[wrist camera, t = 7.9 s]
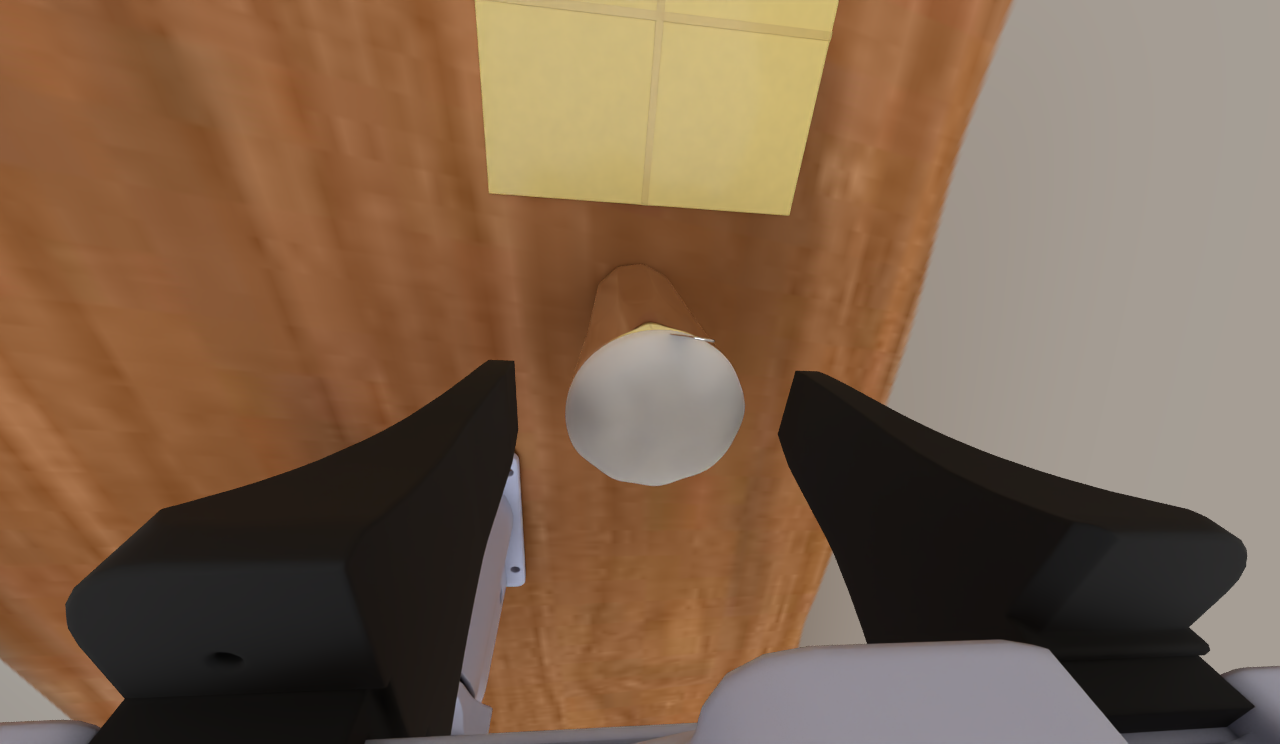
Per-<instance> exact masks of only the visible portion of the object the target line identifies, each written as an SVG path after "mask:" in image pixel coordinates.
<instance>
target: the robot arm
mask: <svg viewBox="0 0 1280 744" xmlns="http://www.w3.org/2000/svg"><path fill="white" fill-rule="evenodd" d="M517 433H518V417H517V400H516V382H515V364H514V361H503V360H488V361H487V362H485V363H484V364H482V365H481V366H480V367H478V368H477V369H476V370H474V371H473V372H472V373H470V374H469V375H468V376H466V377H465V378H464V379H463V380H461V381H460V382H459V383H457V384H456V385H454V386H453V387H452V388H450V389H449V390H448V391H446V392H445V393H444V394H442V395H441V396H439V397H438V398H436V399H435V400H433V401H432V402H430V403H429V404H427V405H426V406H424V407H423V408H421V409H419V410H418V411H416V412H415V413H413V414H412V415H410V416H409V417H407V418H405V419H404V420H402V421H400V422H398V423H397V424H395V425H393V426H391V427H389V428H387V429H385V430H384V431H382V432H380V433H378V434H376V435H374V436H372V437H370V438H368V439H366V440H364V441H362V442H360V443H357V444H355V445H353V446H350V447H348V448H346V449H343V450H341V451H339V452H337V453H334V454H332V455H330V456H327V457H325V458H323V459H321V460H318V461H315V462H313V463H310V464H308V465H305V466H302V467H300V468H297V469H294V470H291V471H289V472H286V473H283V474H280V475H277V476H274V477H271V478H268V479H265V480H262V481H259V482H256V483H253V484H250V485H247V486H243V487H240V488H237V489H233V490H229V491H226V492H222V493H219V494H215V495H212V496H208V497H205V498H201V499H197V500H194V501H190V502H187V503H183V504H180V505H176V506H172V507H168V508H164V509H161V510H160V511H159V512H158V513H157V514H155V515H154V516H153V517H152V518H151V519H150V520H149V521H148V522H147V523H146V524H144V525H143V526H142V527H141V528H140V529H139V530H138V531H137V532H136V533H134V534H133V535H132V536H131V537H130V538H129V539H128V540H127V541H126V542H124V543H123V544H122V545H121V546H120V547H119V548H118V549H117V550H116V551H114V552H113V553H112V554H111V555H110V556H109V557H108V558H107V559H106V560H104V561H103V562H102V563H101V564H100V565H99V566H98V567H97V568H96V569H94V570H93V571H92V572H91V573H90V574H89V575H88V576H87V577H86V578H84V579H83V580H82V581H81V582H80V583H79V584H78V585H77V586H76V587H74V589H73V591H72V593H71V595H70V596H69V598H68V600H67V602H66V604H65V606H66V618H67V625H68V629H69V631H70V632H71V634H72V636H73V637H74V639H75V641H76V642H77V644H78V645H79V647H80V648H81V649H82V650H83V651H84V652H85V653H86V655H87V656H88V657H89V658H90V659H91V660H92V662H93V663H94V664H95V665H96V666H97V667H98V668H99V670H100V671H101V672H102V673H103V674H104V675H105V676H106V678H107V679H108V680H109V681H110V682H111V683H112V685H113V686H114V687H115V688H116V689H117V690H118V691H119V693H120V694H121V695H122V696H123V697H124V698H125V699H124V701H123V702H122V703H121V704H120V706H119V707H118V708H117V709H116V710H115V712H114V713H113V714H112V715H111V717H110V718H109V719H108V720H107V722H106V723H105V724H104V725H103V726H102V728H100V727H98V726H96V725H93V724H89V723H86V722H82V721H73V720H49V721H25V722H3V723H0V744H1280V666H1270V667H1247V668H1239V669H1235V670H1231V671H1229V672H1226V673H1223V674H1221V675H1220V674H1218V673H1217V672H1216V671H1215V670H1214V669H1213V668H1212V667H1211V666H1210V665H1208V664H1207V663H1206V662H1205V661H1204V660H1203V659H1202V658H1201V657H1199V655H1205V654H1207V653H1208V652H1209V651H1210V648H1209V645H1208V644H1207V643H1206V642H1205V641H1204V640H1203V639H1202V638H1201V637H1199V636H1198V635H1197V634H1196V633H1195V632H1194V631H1192V630H1191V629H1190V628H1189V626H1191V625H1192V624H1193V623H1194V622H1195V621H1196V620H1197V619H1198V618H1199V617H1201V616H1202V614H1204V613H1205V612H1206V611H1207V610H1208V609H1209V608H1210V607H1211V606H1212V605H1214V604H1215V603H1216V602H1217V601H1218V600H1219V599H1220V598H1221V597H1222V596H1223V595H1224V594H1226V593H1227V592H1228V591H1229V590H1230V588H1231V587H1232V586H1233V585H1234V584H1235V583H1236V582H1237V581H1238V580H1239V578H1240V576H1241V575H1242V573H1243V571H1244V569H1245V567H1246V560H1247V550H1246V548H1245V546H1244V544H1243V543H1242V541H1241V540H1240V539H1239V538H1237V537H1236V536H1234V535H1233V534H1231V533H1229V532H1228V531H1227V530H1225V529H1224V528H1222V527H1221V526H1219V525H1218V524H1216V523H1215V522H1213V521H1212V520H1210V519H1208V518H1207V517H1205V516H1203V515H1201V514H1198V513H1196V512H1194V511H1191V510H1189V509H1185V508H1180V507H1176V506H1172V505H1167V504H1163V503H1159V502H1154V501H1150V500H1146V499H1141V498H1137V497H1133V496H1129V495H1124V494H1119V493H1115V492H1111V491H1108V490H1104V489H1100V488H1096V487H1093V486H1089V485H1086V484H1082V483H1079V482H1075V481H1071V480H1068V479H1064V478H1061V477H1057V476H1054V475H1051V474H1048V473H1045V472H1041V471H1038V470H1035V469H1032V468H1029V467H1026V466H1023V465H1021V464H1018V463H1015V462H1012V461H1009V460H1006V459H1003V458H1000V457H997V456H995V455H992V454H990V453H987V452H984V451H981V450H979V449H976V448H974V447H972V446H969V445H967V444H964V443H962V442H960V441H957V440H955V439H953V438H950V437H948V436H945V435H943V434H941V433H939V432H937V431H934V430H932V429H930V428H928V427H926V426H924V425H922V424H920V423H918V422H916V421H914V420H912V419H910V418H908V417H906V416H903V415H902V414H900V413H898V412H896V411H894V410H892V409H890V408H889V407H887V406H885V405H883V404H881V403H879V402H877V401H876V400H874V399H872V398H870V397H868V396H866V395H865V394H863V393H861V392H859V391H857V390H855V389H854V388H852V387H850V386H848V385H846V384H844V383H842V382H840V381H838V380H836V379H834V378H832V377H830V376H828V375H826V374H823V373H821V372H817V371H795V375H794V379H793V382H792V386H791V389H790V393H789V396H788V400H787V403H786V407H785V411H784V414H783V418H782V421H781V425H780V428H779V432H778V436H779V439H780V443H781V446H782V449H783V452H784V455H785V457H786V460H787V463H788V466H789V468H790V470H791V472H792V474H793V476H794V478H795V480H796V482H797V483H798V485H799V487H800V489H801V491H802V493H803V495H804V497H805V499H806V501H807V502H808V504H809V506H810V508H811V510H812V512H813V514H814V516H815V518H816V519H817V521H818V523H819V525H820V527H821V529H822V531H823V533H824V534H825V536H826V538H827V541H828V543H829V545H830V547H831V549H832V551H833V553H834V555H835V558H836V560H837V563H838V566H839V568H840V571H841V573H842V576H843V578H844V581H845V583H846V586H847V588H848V591H849V594H850V596H851V599H852V602H853V604H854V607H855V610H856V613H857V616H858V619H859V621H860V624H861V627H862V630H863V633H864V636H865V638H866V642H867V644H856V645H855V644H853V645H824V646H806V647H800V648H795V649H789V650H784V651H778V652H773V653H768V654H763V655H761V656H759V657H757V658H755V659H753V660H751V661H750V662H748V663H746V664H744V665H742V666H740V667H738V668H736V669H734V670H732V671H730V672H728V673H727V674H726V675H725V676H724V678H723V679H722V680H721V682H720V683H719V684H718V685H717V687H716V688H715V689H714V691H713V692H712V693H711V695H710V696H709V697H708V699H707V700H706V702H705V703H704V705H703V706H702V709H701V712H700V716H699V719H698V723H682V724H663V725H643V726H624V727H605V728H586V729H566V730H547V731H528V732H508V733H489V734H488V732H489V726H490V721H491V715H492V708H491V707H490V706H487V705H485V704H482V703H481V702H482V699H483V696H484V693H485V690H486V686H487V681H488V676H489V671H490V666H491V661H492V656H493V651H494V645H495V640H496V635H497V630H498V625H499V620H500V615H501V610H502V605H503V600H504V595H505V590H506V587H517V586H521V585H523V584H524V583H525V579H526V568H525V551H524V534H523V517H522V500H521V483H520V466H519V458H518V456H517V455H516V454H515V453H514V451H515V446H516V439H517ZM510 469H512V471H510Z"/></svg>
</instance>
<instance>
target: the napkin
mask: <svg viewBox="0 0 1280 744" xmlns="http://www.w3.org/2000/svg"><path fill="white" fill-rule="evenodd" d="M838 2H839V0H475V12H476V25H477V39H478V52H479V66H480V80H481V93H482V107H483V121H484V134H485V148H486V161H487V175H488V189H489V193H490V194H502V195H516V196H529V197H543V198H557V199H570V200H584V201H597V202H611V203H624V204H638V205H647V206H648V205H651V206H665V207H678V208H692V209H705V210H719V211H732V212H746V213H760V214H773V215H787V216H789V214H790V210H791V205H792V201H793V197H794V192H795V188H796V184H797V179H798V175H799V171H800V166H801V162H802V158H803V154H804V149H805V145H806V141H807V136H808V132H809V128H810V123H811V119H812V115H813V110H814V106H815V102H816V97H817V93H818V89H819V84H820V80H821V76H822V71H823V67H824V63H825V58H826V54H827V50H828V45H829V41H831V37H832V28H833V24H834V20H835V15H836V11H837V7H838Z"/></svg>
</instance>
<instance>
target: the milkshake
mask: <svg viewBox="0 0 1280 744" xmlns="http://www.w3.org/2000/svg"><path fill="white" fill-rule="evenodd" d="M714 342H715V340H713V339H710V337H709V336H708V335H707V334H706V332H705V331H704V330H703V329H702V327H701V326H700V325H699V323H698V322H697V321H696V319H695V318H694V316H693V315H692V313H691V312H690V311H689V309H688V308H687V306H686V305H685V303H684V302H683V300H682V299H681V297H680V296H679V295H678V293H677V292H676V290H675V289H674V287H673V286H672V284H671V283H670V282H669V280H668V279H667V277H666V276H664V275H663V274H661V273H659V272H657V271H656V270H654V269H652V268H650V267H649V266H647V265H645V264H635V265H626V266H618V267H617V268H615V269H614V270H613V271H612V272H611V273H610V274H609V275H608V276H607V277H605V278H604V279H603V280H602V281H601V282H600V283H599V284H598V288H597V293H596V297H595V302H594V306H593V311H592V315H591V319H590V324H589V328H588V331H587V335H586V338H585V341H584V344H583V347H582V350H581V353H580V356H579V359H578V362H577V366H576V369H575V372H574V375H573V379H572V382H571V385H570V389H569V392H568V396H567V401H566V409H565V417H566V426H567V431H568V434H569V437H570V440H571V442H572V444H573V446H574V448H575V449H576V451H577V452H578V453H579V454H580V455H581V456H582V457H583V458H585V459H586V460H587V461H588V462H590V463H591V464H593V465H594V466H595V467H597V468H598V469H599V470H600V471H602V472H603V473H605V474H606V475H608V476H609V477H611V478H613V479H616V480H619V481H623V482H631V483H637V484H643V485H650V486H660V485H665V484H669V483H672V482H674V481H677V480H680V479H683V478H686V477H690V476H693V475H696V474H699V473H701V472H703V471H705V470H707V469H709V468H710V467H711V466H713V465H714V464H715V463H716V462H717V461H718V460H720V458H721V457H722V456H723V455H724V454H725V453H726V451H727V450H728V448H729V447H730V445H731V443H732V442H733V440H734V438H735V436H736V434H737V432H738V430H739V428H740V425H741V423H742V420H743V416H744V411H745V402H744V395H743V391H742V388H741V385H740V382H739V379H738V377H737V375H736V372H735V370H734V368H733V367H732V365H731V363H730V362H729V361H728V359H727V358H726V357H725V356H724V355H723V354H722V353H721V351H720V350H719V349H718V348H717V346H716V345H715V344H714Z"/></svg>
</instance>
